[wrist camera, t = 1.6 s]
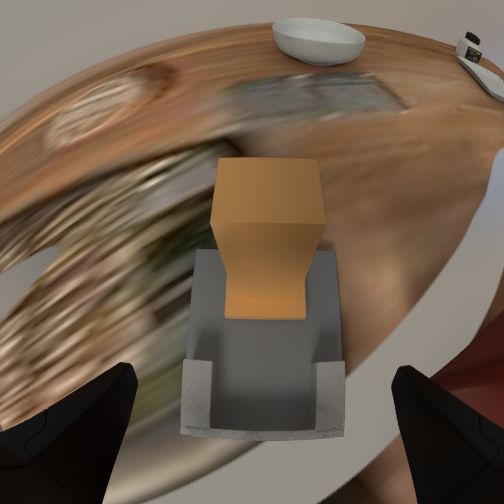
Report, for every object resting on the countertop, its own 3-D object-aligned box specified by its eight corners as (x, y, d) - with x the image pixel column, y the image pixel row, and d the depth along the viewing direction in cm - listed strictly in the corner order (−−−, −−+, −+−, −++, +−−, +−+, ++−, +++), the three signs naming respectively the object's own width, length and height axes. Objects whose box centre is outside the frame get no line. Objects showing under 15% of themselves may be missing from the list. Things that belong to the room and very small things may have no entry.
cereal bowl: (326, 42, 46) (329, 16, 40) (376, 74, 40) (384, 44, 33) (257, 49, 44) (257, 19, 38) (301, 82, 37) (304, 45, 31)
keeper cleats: (334, 430, 17) (343, 436, 15) (189, 427, 17) (180, 433, 15) (335, 362, 19) (344, 361, 17) (192, 360, 20) (183, 358, 18)
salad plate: (486, 97, 42) (490, 89, 39) (453, 61, 51) (456, 53, 48) (526, 121, 41) (531, 113, 38) (495, 82, 50) (498, 75, 47)
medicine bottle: (463, 59, 54) (472, 34, 43) (454, 51, 57) (462, 27, 46) (477, 66, 53) (486, 42, 42) (468, 58, 56) (476, 35, 45)
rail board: (337, 427, 18) (340, 429, 17) (186, 424, 18) (183, 426, 17) (332, 255, 24) (334, 250, 23) (198, 254, 25) (196, 249, 24)
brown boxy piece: (303, 319, 21) (348, 253, 10) (226, 318, 21) (187, 251, 10) (297, 186, 26) (311, 78, 15) (235, 186, 26) (221, 78, 16)
